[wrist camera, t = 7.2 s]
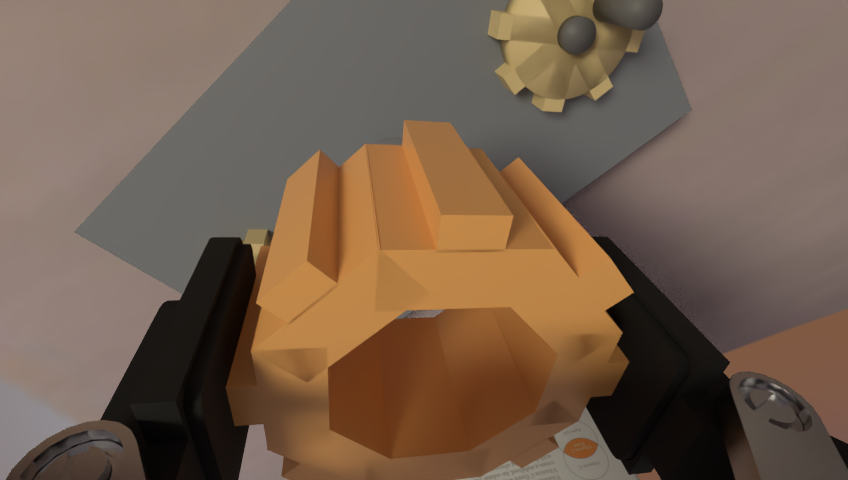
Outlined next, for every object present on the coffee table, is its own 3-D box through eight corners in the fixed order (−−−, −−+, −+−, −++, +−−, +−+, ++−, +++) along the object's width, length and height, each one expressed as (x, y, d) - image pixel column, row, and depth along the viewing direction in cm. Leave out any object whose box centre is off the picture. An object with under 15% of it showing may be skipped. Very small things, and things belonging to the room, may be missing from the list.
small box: (427, 405, 27) (466, 613, 19) (416, 347, 24) (457, 565, 15) (546, 379, 28) (638, 570, 19) (550, 319, 25) (663, 515, 16)
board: (515, -236, 12) (642, -383, 7) (659, 96, 18) (780, 147, 13) (101, 205, 17) (-3, 308, 12) (325, 345, 23) (320, 451, 18)
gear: (243, 111, 8) (177, 212, 5) (584, 129, 10) (711, 217, 6) (275, 365, 12) (251, 516, 9) (514, 352, 13) (569, 478, 10)
